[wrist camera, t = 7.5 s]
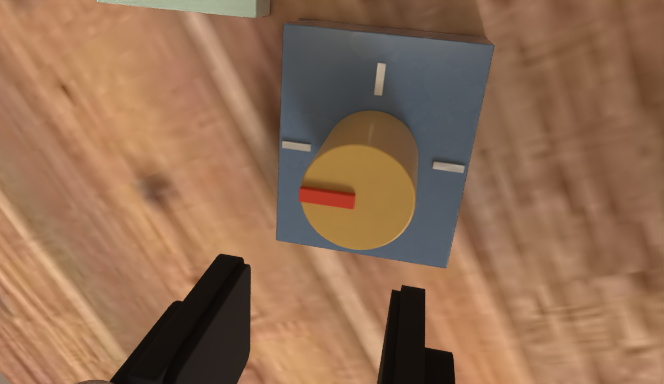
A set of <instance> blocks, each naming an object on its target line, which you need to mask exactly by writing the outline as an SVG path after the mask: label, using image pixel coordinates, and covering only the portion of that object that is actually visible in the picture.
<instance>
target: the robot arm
mask: <svg viewBox="0 0 664 384" xmlns="http://www.w3.org/2000/svg"><path fill="white" fill-rule="evenodd" d="M250 294H251V268H250V265H248V264H244V259H243V258H242V257H237V256H231V255H225V254H219V255H218V256H217V257H216V259H215V260H214V261H213V263H212V264H211V265H210V267H209V268H208V269H207V271H206V272H205V273H204V274H203V276H202V277H201V278H200V280H199V281H198V282H197V284H196V285H195V286H194V287H193V289H192V290H191V291H190V293H189V294H188V295H187V297H186V298H185V299H184V301H175V302H173V303H172V304H171V305H170V306H169V307H168V309H167V310H166V311H165V312H164V314H163V315H162V316H161V317H160V319H159V320H158V321H157V322H156V324H155V325H154V326H153V327H152V329H151V330H150V331H149V332H148V334H147V335H146V336H145V337H144V339H143V340H142V341H141V342H140V344H139V345H138V346H137V348H136V349H135V350H134V351H133V353H132V354H131V355H130V356H129V358H128V359H127V360H126V361H125V363H124V364H123V365H122V366H121V368H120V369H119V370H118V371H117V373H116V374H115V375H114V376H113V378H112V379H111V380H110V381H109V382H108V381H104V380H88V381H84V382H79V383H76V384H237V382H238V380H239V378H240V376H241V374H242V372H243V370H244V368H245V366H246V363H247V361H248V358H249V353H250ZM377 384H455V373H454V359H453V354H452V352H447V351H441V350H436V349H431V348H426V347H425V289H422V288H416V287H410V286H404V285H402V287H401V291H397V290H392V293H391V299H390V306H389V312H388V318H387V324H386V330H385V337H384V343H383V349H382V355H381V362H380V368H379V374H378V381H377Z"/></svg>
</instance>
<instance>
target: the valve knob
mask: <svg viewBox="0 0 664 384" xmlns="http://www.w3.org/2000/svg"><path fill="white" fill-rule="evenodd" d="M417 172H418V148H417V144H416V141H415V139H414V137H413V135H412V133H411V132H410V130H409V129H408V128H407V126H406V125H405V124H404V123H402V122H401V121H400V120H399V119H397V118H396V117H394V116H392V115H390V114H387V113H384V112H380V111H372V110H368V111H360V112H356V113H353V114H351V115H349V116H347V117H345V118H344V119H342V120H341V121H340V122H338V123H337V124H336V125H335V127H334V128H333V129H332V131H331V132H330V134H329V135H328V137H327V138H326V140H325V141H324V143H323V145H322V146H321V148H320V149H319V151H318V152H317V154H316V155H315V157H314V158H313V160H312V162H311V163H310V165H309V166H308V168H307V170H306V171H305V173H304V176H303V178H302V182H301V187H300V189H299V202H301V205H302V208H303V211H304V213H305V216H306V218H307V219H308V221H309V223H310V224H311V225H312V227H313V228H314V229H315V230H316V231H317V232H318V233H319V234H320V235H321V236H322V237H324V238H325V239H327V240H328V241H330V242H332V243H334V244H336V245H338V246H341V247H344V248H349V249H356V250H367V249H374V248H378V247H381V246H384V245H386V244H388V243H390V242H392V241H393V240H395V239H396V238H397V237H399V236H400V235H401V234H402V233H403V232H404V231H405V229H406V228H407V227H408V225H409V223H410V222H411V220H412V217H413V215H414V211H415V205H416V190H417Z"/></svg>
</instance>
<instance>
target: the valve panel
mask: <svg viewBox="0 0 664 384" xmlns="http://www.w3.org/2000/svg"><path fill="white" fill-rule="evenodd" d="M493 50H494V45H493V44H492V43H491V42H490V41H489V40H488V39H487V38H486V37H480V36H470V35H460V34H450V33H440V32H430V31H420V30H410V29H400V28H390V27H380V26H370V25H360V24H350V23H340V22H330V21H320V20H310V19H297V20H294V21H291V22H287V23H284V24H283V46H282V77H281V107H280V138H279V168H278V198H277V229H276V240H278V241H284V242H290V243H296V244H302V245H308V246H314V247H320V248H326V249H332V250H338V251H344V252H350V253H356V254H362V255H368V256H374V257H380V258H386V259H392V260H398V261H404V262H410V263H416V264H422V265H428V266H434V267H440V268H447V264H448V260H449V255H450V250H451V246H452V241H453V236H454V232H455V227H456V222H457V218H458V213H459V208H460V204H461V199H462V195H463V190H464V185H465V181H466V176H467V171H468V167H469V162H470V157H471V153H472V148H473V143H474V139H475V134H476V129H477V125H478V120H479V115H480V111H481V106H482V101H483V97H484V92H485V87H486V83H487V78H488V73H489V69H490V64H491V59H492V55H493ZM368 110H372V111H380V112H384V113H387V114H390V115H392V116H394V117H396V118H397V119H399V120H400V121H401V122H402V123H404V124H405V125H406V126H407V128H408V129H409V130H410V132H411V133H412V135H413V137H414V139H415V141H416V144H417V148H418V172H417V190H416V205H415V211H414V215H413V217H412V220H411V222H410V223H409V225H408V227H407V228H406V229H405V231H404V232H403V233H402V234H401V235H400V236H399V237H397V238H396V239H395V240H393V241H392V242H390V243H388V244H386V245H384V246H381V247H378V248H374V249H367V250H356V249H349V248H344V247H341V246H338V245H336V244H334V243H332V242H330V241H328V240H327V239H325V238H324V237H322V236H321V235H320V234H319V233H318V232H317V231H316V230H315V229H314V228H313V227H312V225H311V224H310V223H309V221H308V219H307V218H306V216H305V213H304V211H303V208H302V205H301V202H299V189H300V187H301V182H302V178H303V176H304V173H305V171H306V170H307V168H308V166H309V165H310V163H311V162H312V160H313V158H314V157H315V155H316V154H317V152H318V151H319V149H320V148H321V146H322V145H323V143H324V141H325V140H326V138H327V137H328V135H329V134H330V132H331V131H332V129H333V128H334V127H335V125H336V124H337V123H338V122H340V121H341V120H342V119H344V118H345V117H347V116H349V115H351V114H353V113H356V112H360V111H368Z"/></svg>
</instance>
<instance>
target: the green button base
mask: <svg viewBox="0 0 664 384" xmlns="http://www.w3.org/2000/svg"><path fill="white" fill-rule="evenodd" d="M96 1H97V2H100V3H110V4H119V5H129V6H139V7H149V8H159V9H169V10H178V11H188V12H198V13H208V14H218V15H228V16H238V17H247V18H258V17H263V16H267V15H270V0H96Z"/></svg>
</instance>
